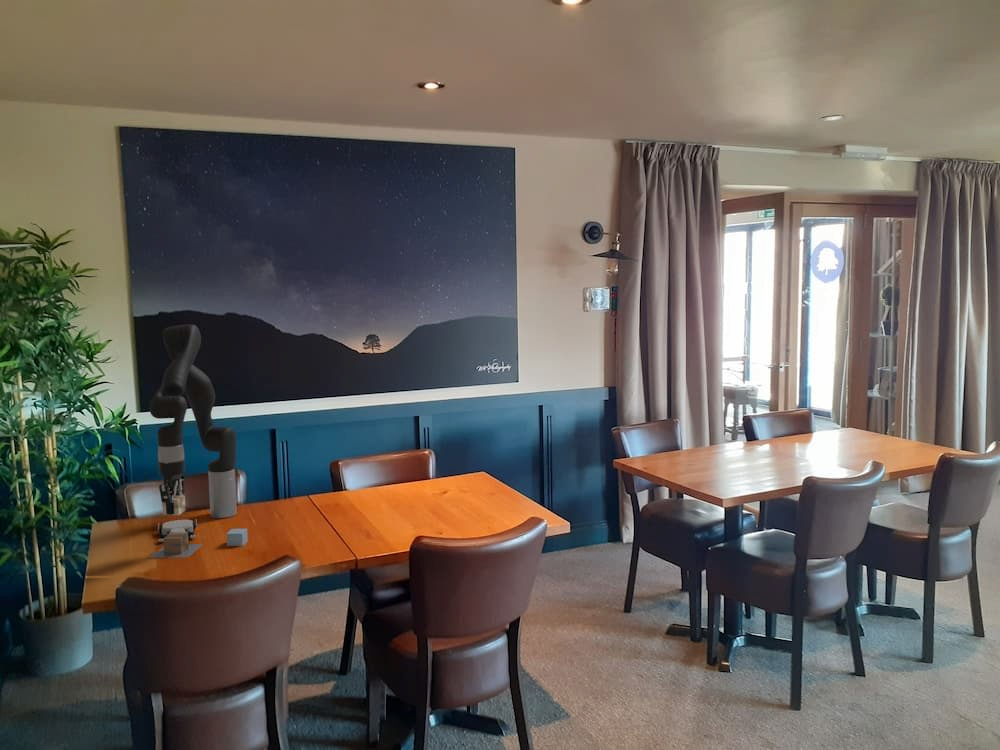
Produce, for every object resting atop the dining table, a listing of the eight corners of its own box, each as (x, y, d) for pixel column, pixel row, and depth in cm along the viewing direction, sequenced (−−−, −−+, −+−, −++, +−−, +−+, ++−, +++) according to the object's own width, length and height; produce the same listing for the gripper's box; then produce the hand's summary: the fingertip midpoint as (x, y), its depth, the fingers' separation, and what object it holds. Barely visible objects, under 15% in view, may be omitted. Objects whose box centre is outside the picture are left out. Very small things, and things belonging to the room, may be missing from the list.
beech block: (169, 510, 239) (169, 495, 238) (185, 510, 239) (184, 495, 238) (162, 515, 234) (162, 499, 233) (178, 515, 234) (178, 499, 233)
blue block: (232, 543, 247) (232, 528, 246) (247, 543, 247) (247, 528, 246) (227, 548, 242) (226, 533, 241) (242, 548, 242) (242, 533, 242)
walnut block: (171, 547, 240) (170, 532, 240) (188, 547, 240) (187, 532, 240) (164, 553, 235) (163, 538, 234) (181, 553, 235) (180, 538, 234)
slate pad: (166, 546, 244) (166, 544, 243) (202, 546, 244) (202, 544, 243) (149, 560, 232) (148, 557, 231) (187, 559, 232) (187, 557, 232)
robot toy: (197, 545, 248) (197, 528, 262) (196, 532, 247) (196, 516, 261) (157, 550, 244) (159, 533, 257) (156, 537, 243) (158, 520, 256)
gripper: (169, 454, 241) (172, 505, 243) (148, 464, 227) (151, 518, 229) (192, 453, 241) (195, 505, 243) (173, 464, 227) (176, 518, 229)
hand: (174, 511), depth 236 cm, fingers closed on beech block, 5 cm apart
